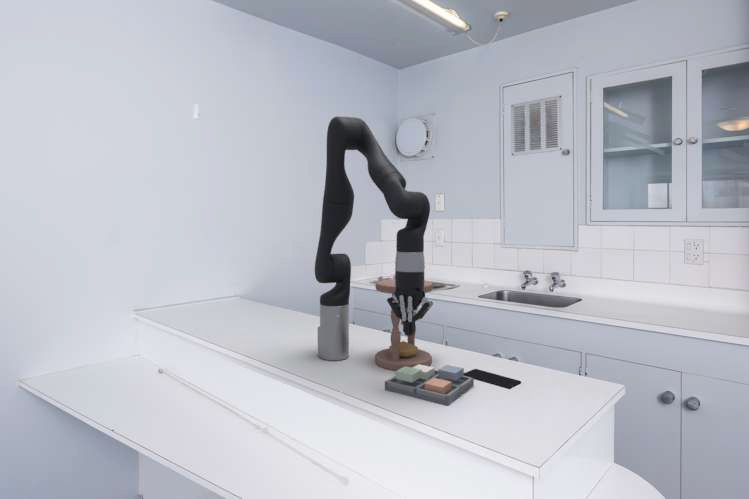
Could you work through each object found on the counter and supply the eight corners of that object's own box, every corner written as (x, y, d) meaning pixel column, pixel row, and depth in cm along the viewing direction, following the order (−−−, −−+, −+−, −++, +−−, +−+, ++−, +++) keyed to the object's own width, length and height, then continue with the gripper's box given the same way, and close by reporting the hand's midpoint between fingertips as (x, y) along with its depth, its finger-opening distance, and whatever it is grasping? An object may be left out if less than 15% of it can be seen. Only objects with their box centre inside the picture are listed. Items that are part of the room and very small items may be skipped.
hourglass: (411, 375, 134) (412, 288, 132) (363, 363, 144) (364, 283, 143) (441, 360, 148) (443, 281, 146) (396, 350, 158) (396, 277, 157)
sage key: (395, 378, 123) (395, 371, 123) (405, 373, 127) (405, 366, 127) (412, 382, 120) (412, 374, 120) (421, 377, 124) (421, 369, 124)
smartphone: (509, 387, 124) (461, 373, 134) (509, 390, 124) (461, 376, 134) (522, 381, 128) (475, 368, 139) (522, 384, 129) (475, 371, 139)
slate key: (438, 377, 124) (438, 369, 124) (446, 371, 128) (446, 364, 128) (455, 380, 121) (455, 373, 121) (463, 375, 125) (463, 368, 125)
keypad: (384, 389, 123) (384, 381, 123) (414, 373, 136) (414, 365, 136) (447, 405, 113) (447, 396, 112) (473, 385, 126) (473, 377, 126)
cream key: (409, 376, 129) (409, 368, 129) (418, 371, 133) (418, 364, 133) (426, 379, 126) (426, 372, 126) (434, 374, 130) (434, 367, 130)
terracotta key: (424, 391, 118) (424, 383, 118) (433, 385, 122) (433, 377, 122) (442, 395, 115) (442, 387, 115) (451, 389, 119) (451, 381, 119)
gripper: (380, 268, 122) (380, 334, 123) (425, 272, 115) (424, 342, 116) (395, 266, 128) (395, 328, 129) (439, 269, 121) (438, 335, 122)
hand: (409, 335), depth 123 cm, fingers closed
